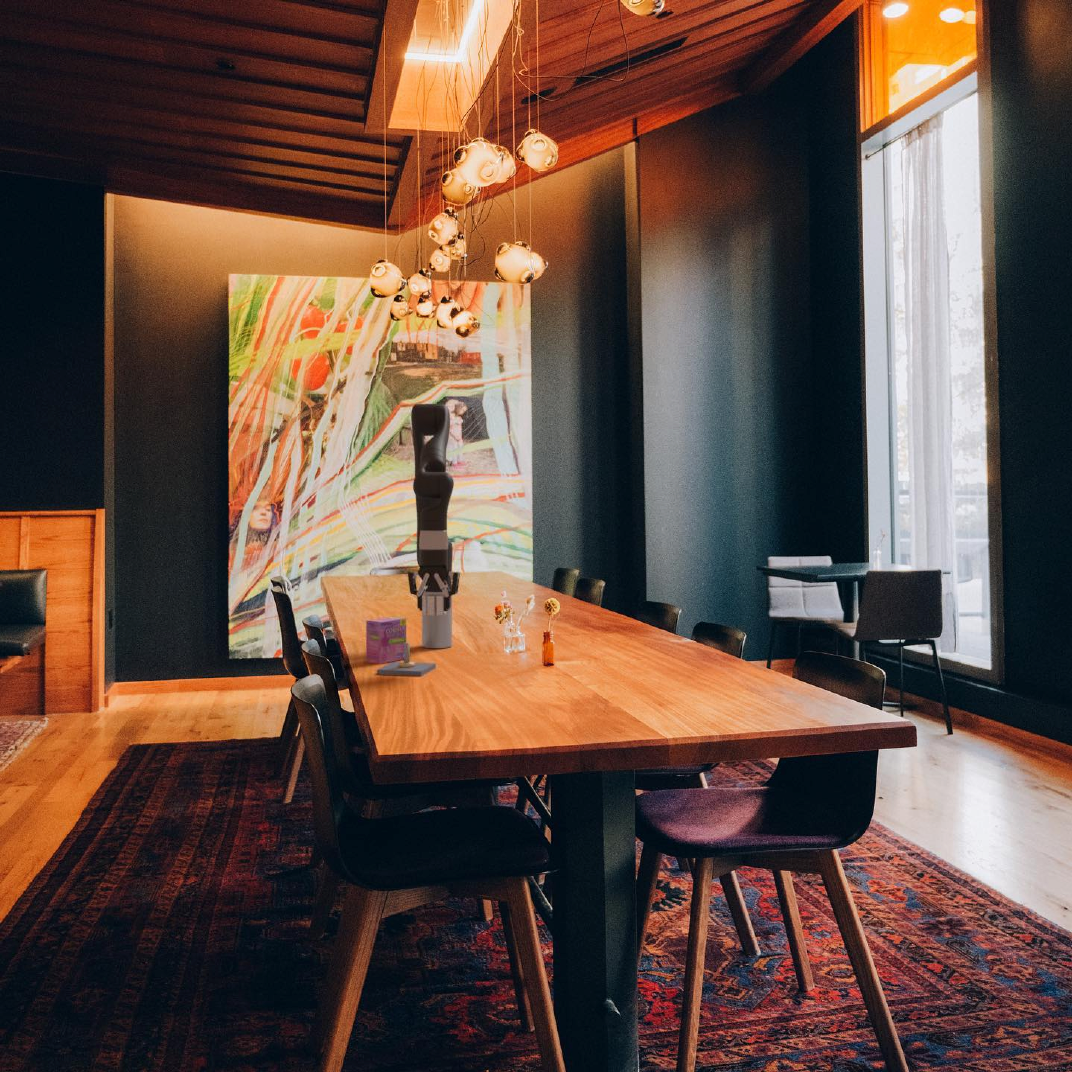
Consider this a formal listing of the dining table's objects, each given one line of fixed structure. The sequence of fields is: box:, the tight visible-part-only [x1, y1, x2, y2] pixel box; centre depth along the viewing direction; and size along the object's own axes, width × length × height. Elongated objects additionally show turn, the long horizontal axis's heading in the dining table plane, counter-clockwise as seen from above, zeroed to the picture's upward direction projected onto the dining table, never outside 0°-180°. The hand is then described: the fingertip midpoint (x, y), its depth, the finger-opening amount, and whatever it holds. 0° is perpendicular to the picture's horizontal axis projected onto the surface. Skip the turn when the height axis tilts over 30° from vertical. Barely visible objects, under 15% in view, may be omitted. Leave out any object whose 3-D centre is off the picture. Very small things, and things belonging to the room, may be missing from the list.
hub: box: [421, 594, 446, 615], centre depth 246 cm, size 6×6×5 cm
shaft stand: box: [376, 642, 437, 677], centre depth 244 cm, size 12×12×7 cm
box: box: [365, 616, 407, 665], centre depth 260 cm, size 10×6×12 cm, turn 143°
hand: (433, 610), depth 246 cm, fingers closed on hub, 6 cm apart
